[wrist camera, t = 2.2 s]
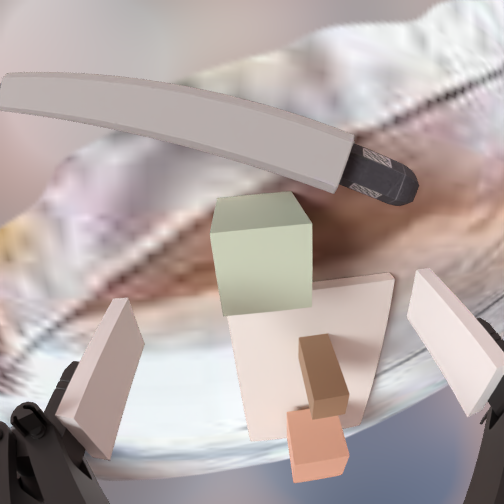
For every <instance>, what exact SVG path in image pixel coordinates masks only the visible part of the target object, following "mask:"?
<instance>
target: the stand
mask: <svg viewBox="0 0 504 504" xmlns="http://www.w3.org/2000/svg"><path fill="white" fill-rule="evenodd" d="M394 281H395V279H394V278H393V276H392V275H391V274H390V273H389V272H387V273H380V274H372V275H365V276H357V277H349V278H341V279H333V280H325V281H316V282H312V307H309V308H300V309H292V310H283V311H274V312H264V313H254V314H244V315H233V316H227V317H228V323H229V329H230V335H231V341H232V347H233V352H234V358H235V364H236V369H237V375H238V380H239V385H240V391H241V396H242V401H243V406H244V412H245V417H246V422H247V427H248V432H249V437H250V441H262V440H273V439H282V438H287V440H288V447H289V454H290V461H291V468H292V475H293V482H294V483H298V482H305V481H311V480H317V479H323V478H328V477H333V476H338V475H342V473H343V471H344V468H345V466H346V463H347V460H348V458H349V452H348V448H347V445H346V441H345V437H344V434H343V430H342V429H344V428H349V427H354V426H358V425H360V424H361V421H362V417H363V414H364V411H365V408H366V405H367V401H368V398H369V394H370V391H371V387H372V384H373V380H374V376H375V373H376V369H377V365H378V361H379V357H380V353H381V348H382V344H383V340H384V335H385V330H386V326H387V321H388V316H389V310H390V305H391V299H392V294H393V288H394Z"/></svg>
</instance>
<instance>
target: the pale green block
mask: <svg viewBox="0 0 504 504" xmlns="http://www.w3.org/2000/svg"><path fill="white" fill-rule="evenodd" d="M210 238H211V245H212V251H213V258H214V264H215V270H216V276H217V283H218V289H219V295H220V300H221V306H222V312H223V316H233V315H244V314H254V313H264V312H274V311H283V310H292V309H300V308H309V307H312V223H311V221H310V219H309V218H308V216H307V215H306V213H305V212H304V210H303V209H302V207H301V206H300V204H299V202H298V201H297V199H296V198H295V196H294V195H293V193H292V192H291V191H288V192H276V193H265V194H254V195H244V196H234V197H224V198H217V202H216V206H215V211H214V216H213V220H212V225H211V230H210Z"/></svg>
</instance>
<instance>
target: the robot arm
mask: <svg viewBox="0 0 504 504" xmlns="http://www.w3.org/2000/svg"><path fill="white" fill-rule="evenodd" d="M407 319H408V320H409V322H410V323H411V325H412V326H413V328H414V329H415V331H416V332H417V334H418V335H419V337H420V338H421V340H422V341H423V343H424V345H425V346H426V348H427V349H428V351H429V352H430V354H431V356H432V357H433V359H434V361H435V362H436V364H437V365H438V367H439V369H440V370H441V372H442V374H443V375H444V377H445V379H446V380H447V382H448V384H449V386H450V387H451V389H452V391H453V393H454V394H455V396H456V398H457V400H458V401H459V403H460V405H461V407H462V408H463V410H464V412H465V414H466V416H467V417H469V416H471V415H473V414H476V413H478V412H480V411H481V410H482V409H483V408H484V406H485V405H486V403H487V402H489V404H490V405H491V407H490V408H489V410H488V411H487V413H486V414H485V416H484V417H483V418H482V420H481V422H480V424H483V422H484V420H486V418H487V420H486V424H485V429H484V434H483V439H482V443H481V447H480V451H479V455H478V459H477V462H476V466H475V469H474V473H473V476H472V480H471V482H470V486H469V489H468V491H467V494H466V497H465V500H464V503H463V504H504V341H503V339H501V337H500V336H499V335H498V333H496V331H495V330H494V329H493V328H492V326H491V325H490V324H489V323H487V322H486V321H484V320H483V319H481V318H475V317H474V316H473V314H472V313H471V312H470V311H469V310H468V309H467V308H466V306H465V305H464V304H463V303H462V302H461V301H460V300H459V299H458V298H457V296H456V295H455V294H454V293H453V292H452V291H451V290H450V289H449V288H448V287H447V286H446V285H445V284H444V283H443V281H442V280H441V279H440V278H439V277H438V276H437V275H436V274H435V273H434V272H433V271H432V270H431V269H430V268H425V269H418V270H416V274H415V279H414V284H413V289H412V294H411V299H410V304H409V308H408V313H407ZM144 345H145V343H144V341H143V338H142V335H141V333H140V330H139V327H138V325H137V322H136V319H135V316H134V313H133V310H132V308H131V305H130V302H129V299H128V298H117V299H113V300H112V302H111V304H110V306H109V307H108V309H107V311H106V313H105V315H104V316H103V318H102V320H101V322H100V324H99V326H98V327H97V329H96V331H95V333H94V335H93V337H92V339H91V341H90V343H89V345H88V346H87V348H86V350H85V352H84V354H83V356H82V358H81V360H80V362H77V361H73V362H72V363H71V364H70V365H69V366H68V367H67V368H66V369H65V370H64V372H63V374H62V376H61V378H60V381H59V382H58V384H57V386H56V389H55V390H54V392H53V394H52V396H51V398H50V401H49V403H48V405H47V407H46V409H45V411H44V413H43V411H42V410H41V409H40V408H39V406H38V405H37V404H35V403H33V402H25V403H22V404H20V405H19V406H17V407H16V409H15V410H14V411H13V413H12V415H11V424H12V425H13V427H11V428H9V427H8V426H7V425H6V424H5V423H4V422H2V421H0V504H110V503H109V501H108V499H107V498H106V496H105V495H104V493H103V491H102V489H101V487H100V486H99V484H98V482H97V480H96V478H95V476H94V474H93V473H92V471H91V469H90V467H89V465H88V463H87V461H86V460H85V458H84V457H83V456H84V453H85V450H86V451H87V452H88V453H89V454H90V455H91V456H92V457H94V458H99V459H104V460H110V459H111V455H112V451H113V447H114V444H115V440H116V436H117V432H118V429H119V425H120V422H121V418H122V415H123V411H124V408H125V405H126V401H127V398H128V395H129V391H130V388H131V385H132V382H133V378H134V375H135V372H136V369H137V366H138V363H139V360H140V357H141V354H142V351H143V348H144Z"/></svg>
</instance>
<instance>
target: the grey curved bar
mask: <svg viewBox="0 0 504 504" xmlns="http://www.w3.org/2000/svg"><path fill="white" fill-rule="evenodd" d="M0 111H6V112H15V113H22V114H29V115H37V116H43V117H50V118H56V119H62V120H68V121H73V122H79V123H84V124H90V125H95V126H100V127H104V128H109V129H114V130H119V131H123V132H128V133H132V134H137V135H141V136H145V137H149V138H154V139H158V140H162V141H166V142H170V143H174V144H177V145H181V146H185V147H189V148H193V149H196V150H200V151H203V152H207V153H211V154H214V155H218V156H221V157H224V158H228V159H231V160H235V161H238V162H241V163H244V164H248V165H251V166H254V167H257V168H260V169H263V170H267V171H270V172H273V173H276V174H279V175H282V176H285V177H288V178H291V179H294V180H296V181H299V182H302V183H305V184H308V185H311V186H313V187H316V188H319V189H322V190H325V191H327V192H330V193H333V194H334V193H335V191H336V190H337V188H338V185H339V184H340V185H342V186H345V187H347V188H350V189H353V190H355V191H358V192H360V193H363V194H365V195H368V196H370V197H373V198H375V199H377V200H380V201H382V202H385V203H387V204H390V205H395V206H401V205H405V204H408V203H410V202H413V200H414V198H415V195H416V192H417V190H418V187H419V184H418V181H417V178H416V176H415V174H414V173H413V172H412V170H410V169H409V168H408V167H406V166H405V165H403V164H401V163H399V162H397V161H395V160H392V159H390V158H388V157H386V156H383V155H381V154H379V153H376V152H374V151H372V150H369V149H367V148H364V147H362V146H359V145H357V144H355V142H354V137H355V135H353V134H351V133H348V132H345V131H343V130H340V129H337V128H335V127H332V126H329V125H326V124H324V123H321V122H318V121H315V120H312V119H309V118H306V117H303V116H300V115H297V114H294V113H291V112H287V111H284V110H281V109H278V108H274V107H271V106H267V105H264V104H260V103H256V102H253V101H249V100H245V99H241V98H237V97H233V96H229V95H225V94H221V93H216V92H212V91H207V90H202V89H197V88H192V87H187V86H182V85H176V84H171V83H165V82H158V81H151V80H144V79H137V78H129V77H120V76H110V75H99V74H85V73H63V72H18V73H7V74H6V75H5V76H4V77H3V78H2V82H1V83H0Z"/></svg>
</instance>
